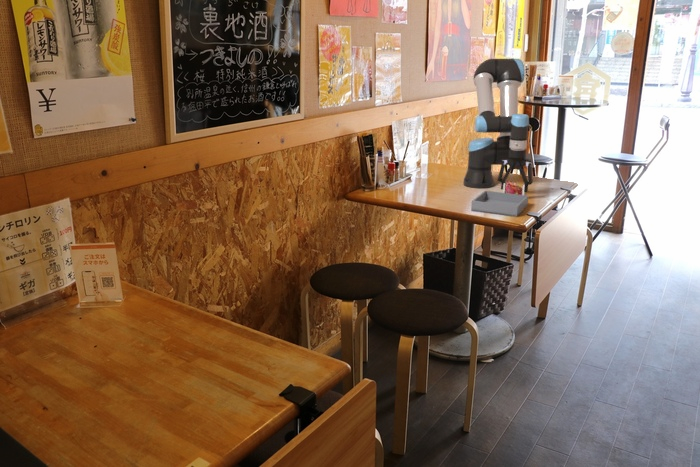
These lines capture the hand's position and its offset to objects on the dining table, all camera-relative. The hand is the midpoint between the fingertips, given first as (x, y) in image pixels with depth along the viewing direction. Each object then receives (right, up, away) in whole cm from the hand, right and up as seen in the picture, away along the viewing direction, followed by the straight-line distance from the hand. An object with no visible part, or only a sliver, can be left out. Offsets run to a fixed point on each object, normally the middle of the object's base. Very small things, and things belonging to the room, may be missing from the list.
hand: (513, 197), depth 268 cm
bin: (-11, -6, -16) cm, 20 cm away
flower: (0, 0, 0) cm, 0 cm away
